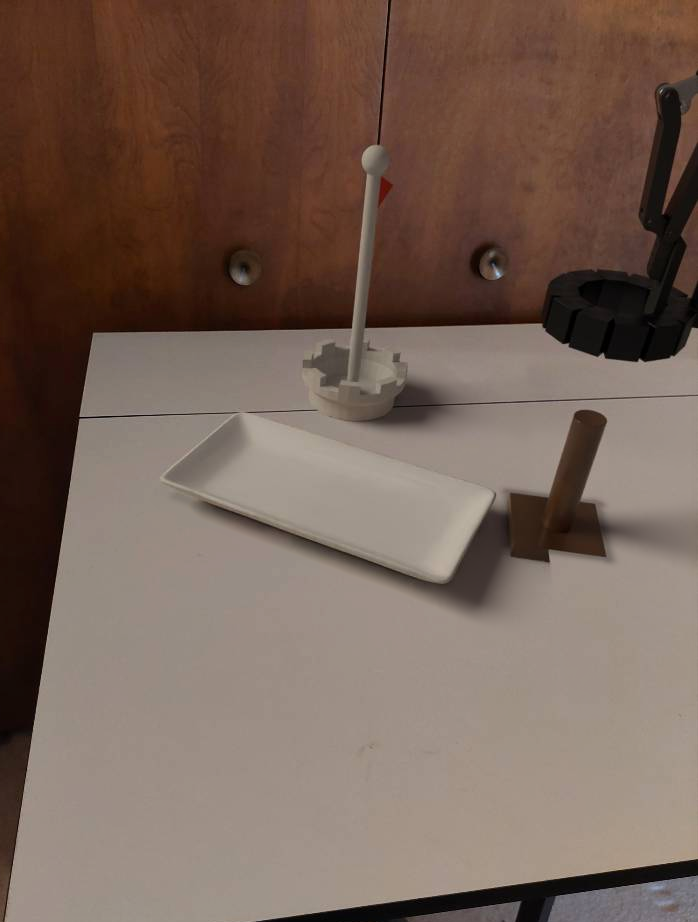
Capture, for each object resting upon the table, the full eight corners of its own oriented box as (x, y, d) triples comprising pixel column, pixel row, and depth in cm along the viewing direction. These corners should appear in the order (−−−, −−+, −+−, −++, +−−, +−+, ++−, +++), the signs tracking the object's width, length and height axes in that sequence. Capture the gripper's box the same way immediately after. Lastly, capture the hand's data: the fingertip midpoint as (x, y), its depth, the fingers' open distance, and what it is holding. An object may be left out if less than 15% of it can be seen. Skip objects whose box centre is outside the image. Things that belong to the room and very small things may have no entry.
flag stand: (373, 436, 96) (406, 170, 77) (281, 404, 101) (291, 146, 82) (418, 393, 105) (459, 144, 85) (332, 365, 110) (352, 123, 90)
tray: (238, 431, 95) (238, 406, 93) (494, 514, 85) (501, 487, 83) (156, 505, 84) (154, 478, 81) (441, 611, 73) (448, 584, 71)
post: (591, 514, 86) (632, 399, 77) (602, 569, 79) (649, 450, 70) (506, 503, 87) (537, 388, 78) (510, 556, 80) (544, 437, 71)
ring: (669, 309, 73) (680, 277, 71) (697, 369, 64) (711, 334, 62) (537, 295, 74) (544, 263, 72) (546, 352, 65) (555, 317, 63)
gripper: (901, -17, 54) (757, 311, 69) (662, -34, 56) (572, 291, 71) (952, -6, 49) (783, 350, 64) (684, -24, 50) (581, 327, 65)
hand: (672, 318), depth 67 cm, fingers closed on ring, 3 cm apart
